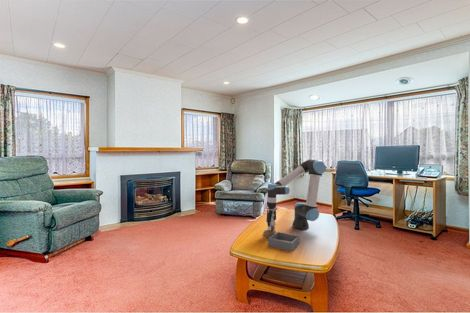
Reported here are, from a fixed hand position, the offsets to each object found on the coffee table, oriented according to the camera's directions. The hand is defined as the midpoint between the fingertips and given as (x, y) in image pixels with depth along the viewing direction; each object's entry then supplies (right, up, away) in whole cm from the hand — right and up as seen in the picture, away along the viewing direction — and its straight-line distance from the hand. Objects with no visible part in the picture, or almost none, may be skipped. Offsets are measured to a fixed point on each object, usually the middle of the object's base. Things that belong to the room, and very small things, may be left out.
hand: (271, 228), depth 215 cm
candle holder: (0, -6, 0) cm, 6 cm away
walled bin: (+7, -7, -20) cm, 22 cm away
